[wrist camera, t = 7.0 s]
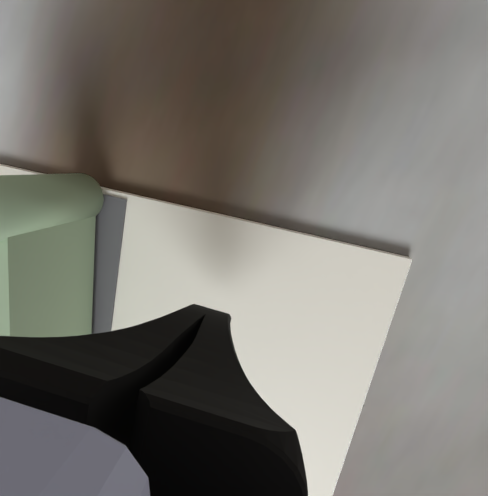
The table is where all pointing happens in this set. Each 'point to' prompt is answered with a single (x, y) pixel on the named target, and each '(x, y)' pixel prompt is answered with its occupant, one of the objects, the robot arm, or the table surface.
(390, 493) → the table surface
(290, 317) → the card
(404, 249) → the table surface
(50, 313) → the hinged fence section
